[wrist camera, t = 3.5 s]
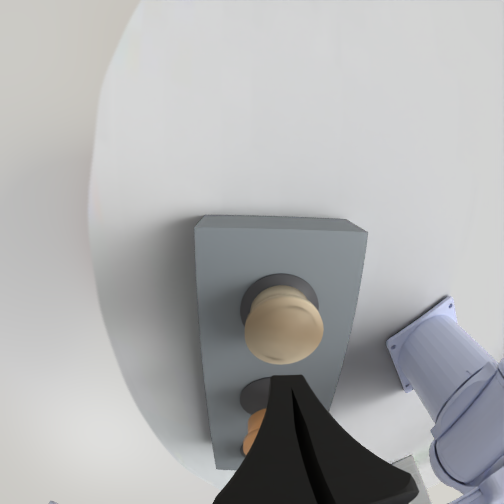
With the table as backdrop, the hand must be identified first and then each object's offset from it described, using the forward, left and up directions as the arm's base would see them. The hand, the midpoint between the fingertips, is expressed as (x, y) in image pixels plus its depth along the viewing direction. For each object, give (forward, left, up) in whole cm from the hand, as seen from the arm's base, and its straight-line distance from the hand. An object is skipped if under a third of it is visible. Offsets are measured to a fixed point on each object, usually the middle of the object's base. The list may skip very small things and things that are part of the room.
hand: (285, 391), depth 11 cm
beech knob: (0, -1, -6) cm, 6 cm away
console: (-6, +4, -10) cm, 13 cm away
